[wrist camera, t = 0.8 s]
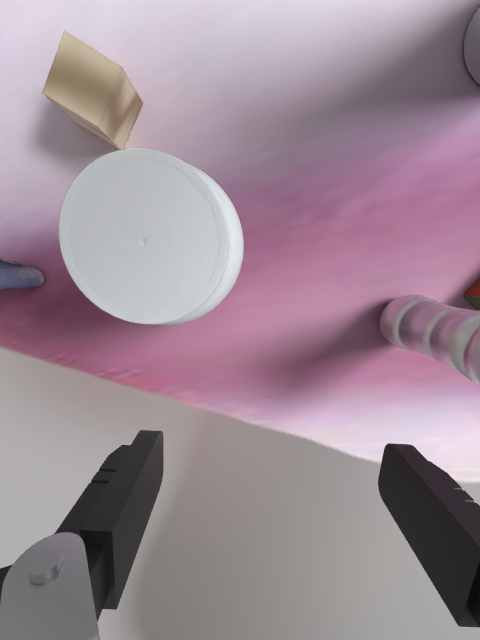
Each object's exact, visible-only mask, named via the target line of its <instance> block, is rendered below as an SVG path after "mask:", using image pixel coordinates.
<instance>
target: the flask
mask: <svg viewBox="0 0 480 640" xmlns="http://www.w3.org/2000/svg"><path fill="white" fill-rule="evenodd" d="M45 275H46V274H45V273H44V272H43V271H41V270H39V269H38V268H35V267H34V266H30V267H27V266H23V265H21V264H20V263H17V262H16V261H15V262H13V261H3V260H2V258H1V259H0V290H4V289H15V288H27V287H38V286H41V285H43V284H44V283H45V281H44V280H45V279H46V278H45ZM43 282H44V283H43Z"/></svg>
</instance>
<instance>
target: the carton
mask: <svg viewBox="0 0 480 640" xmlns="http://www.w3.org/2000/svg"><path fill="white" fill-rule="evenodd" d="M464 298H465V299H466V300H467V301H468V302H469V303H470V304H471V305H472V306H473V307H475V308H476V309H477V310H479V311H480V279H479V280H478V281H477V282H476V283H475V284H474V285H473V286H472V287H471V288H470V289H469V290H468V291H467V292H466V293H465V294H464Z"/></svg>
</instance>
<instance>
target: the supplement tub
mask: <svg viewBox="0 0 480 640" xmlns="http://www.w3.org/2000/svg"><path fill="white" fill-rule="evenodd" d="M59 242H60V248H61V253H62V256H63V259H64V262H65V265H66V267H67V270H68V272H69V274H70V276H71V277H72V279H73V281H74V282H75V284H76V285H77V286H78V288H79V289H80V290H81V291H82V293H83V294H84V295H85V296H86V297H87V298H88V299H89V300H90V301H91V302H93V303H94V304H95V305H96V306H97V307H99V308H100V309H102V310H103V311H105V312H107V313H109V314H110V315H112V316H114V317H117V318H119V319H122V320H125V321H128V322H133V323H139V324H157V325H174V324H181V323H185V322H189V321H192V320H195V319H197V318H200V317H202V316H203V315H205V314H207V313H208V312H210V311H211V310H213V309H214V308H215V307H216V306H217V305H218V304H219V303H220V302H221V301H222V300H223V299H224V298H225V297H226V296H227V294H228V293H229V292H230V290H231V289H232V287H233V285H234V284H235V282H236V280H237V277H238V275H239V272H240V269H241V264H242V260H243V251H244V242H243V233H242V228H241V224H240V220H239V217H238V215H237V212H236V210H235V208H234V206H233V204H232V202H231V201H230V199H229V198H228V196H227V195H226V193H225V192H224V191H223V190H222V188H221V187H220V186H219V185H218V184H217V183H216V182H215V181H214V180H213V179H212V178H210V177H209V176H208V175H207V174H205V173H204V172H202V171H201V170H199V169H198V168H196V167H194V166H192V165H189V164H187V163H185V162H183V161H181V160H180V159H178V158H176V157H174V156H172V155H169V154H167V153H164V152H161V151H157V150H153V149H146V148H128V149H122V150H118V151H114V152H111V153H108V154H106V155H103V156H101V157H99V158H98V159H96V160H95V161H93V162H92V163H90V164H89V165H88V166H86V167H85V168H84V169H83V170H82V171H81V172H80V173H79V174H78V176H77V177H76V178H75V179H74V181H73V182H72V184H71V186H70V187H69V189H68V192H67V194H66V196H65V198H64V201H63V203H62V207H61V211H60V217H59Z"/></svg>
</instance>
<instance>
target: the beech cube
mask: <svg viewBox="0 0 480 640" xmlns="http://www.w3.org/2000/svg"><path fill="white" fill-rule="evenodd" d="M42 93H43V94H44V95H45V96H46V97H47V98H48V99H49V100H51V101H52V102H53V103H54V104H55V105H56V106H57V107H59V108H60V109H61V110H62V111H63V112H64V113H65V114H67V115H68V116H69V117H70V118H71V119H72V120H73V121H75V122H76V123H77V124H78V125H80V126H81V127H83V128H85V129H86V130H88V131H90V132H91V133H93V134H95V135H96V136H98V137H100V138H101V139H103V140H105V141H106V142H108V143H110V144H111V145H113V146H115V147H116V148H118V149H120V150H122V149H124V147H125V145H126V142H127V140H128V138H129V135H130V133H131V131H132V128H133V126H134V124H135V121H136V119H137V116H138V114H139V112H140V109H141V107H142V105H143V102H142V100H141V99H140V97H139V95H138V94H137V92H136V90H135V89H134V87H133V85H132V83H131V82H130V80H129V78H128V77H127V75H126V73H125V72H124V70H123V68H122V67H121V66H120V65H118V64H117V63H115V62H114V61H112V60H110V59H109V58H107V57H106V56H104V55H103V54H101V53H99V52H98V51H96V50H95V49H93V48H91V47H90V46H88V45H87V44H85V43H84V42H82V41H80V40H79V39H77V38H76V37H74V36H73V35H71V34H69V33H68V32H66V31H65V30H64V33H63V36H62V38H61V41H60V44H59V47H58V50H57V52H56V55H55V58H54V61H53V64H52V66H51V69H50V72H49V75H48V78H47V80H46V83H45V86H44V89H43V92H42Z"/></svg>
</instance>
